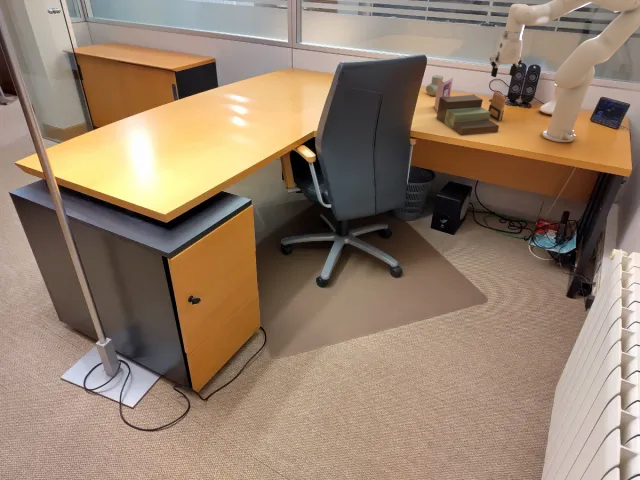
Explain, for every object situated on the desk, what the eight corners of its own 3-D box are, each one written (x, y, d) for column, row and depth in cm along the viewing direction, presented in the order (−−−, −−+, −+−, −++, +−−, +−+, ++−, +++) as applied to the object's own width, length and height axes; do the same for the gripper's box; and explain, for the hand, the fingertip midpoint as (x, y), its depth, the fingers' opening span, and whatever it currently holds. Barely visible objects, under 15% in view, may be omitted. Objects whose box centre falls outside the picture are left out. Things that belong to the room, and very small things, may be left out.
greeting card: (440, 113, 214) (445, 82, 205) (426, 110, 218) (430, 80, 209) (449, 108, 221) (454, 78, 213) (436, 105, 225) (440, 75, 217)
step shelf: (497, 132, 193) (503, 109, 187) (461, 135, 189) (466, 112, 184) (469, 115, 212) (473, 94, 207) (436, 117, 208) (439, 97, 203)
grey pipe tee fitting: (423, 93, 244) (425, 74, 239) (434, 91, 247) (437, 73, 242) (435, 98, 236) (438, 79, 231) (447, 96, 239) (450, 78, 234)
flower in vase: (556, 118, 209) (574, 64, 195) (534, 112, 217) (549, 60, 203) (569, 113, 216) (586, 60, 202) (547, 107, 223) (562, 56, 209)
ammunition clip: (501, 121, 205) (507, 95, 198) (497, 121, 205) (504, 96, 198) (490, 114, 214) (496, 89, 207) (487, 114, 214) (492, 89, 207)
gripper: (500, 37, 184) (490, 79, 194) (534, 36, 188) (523, 77, 198) (490, 34, 190) (481, 74, 200) (524, 33, 194) (513, 73, 203)
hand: (502, 76), depth 199 cm, fingers open, 9 cm apart
